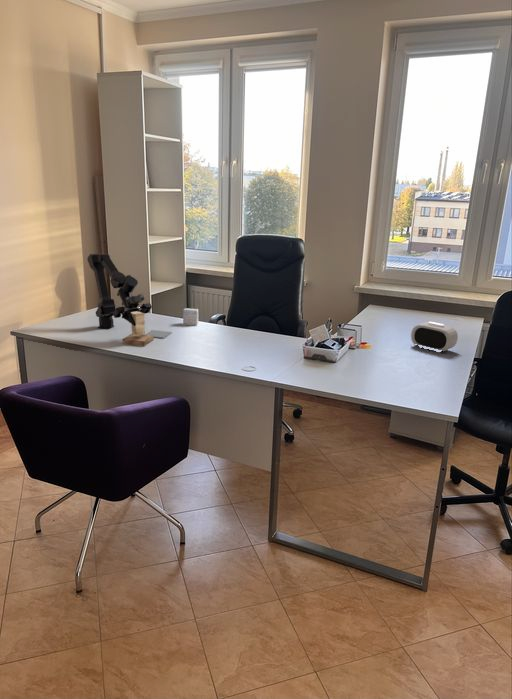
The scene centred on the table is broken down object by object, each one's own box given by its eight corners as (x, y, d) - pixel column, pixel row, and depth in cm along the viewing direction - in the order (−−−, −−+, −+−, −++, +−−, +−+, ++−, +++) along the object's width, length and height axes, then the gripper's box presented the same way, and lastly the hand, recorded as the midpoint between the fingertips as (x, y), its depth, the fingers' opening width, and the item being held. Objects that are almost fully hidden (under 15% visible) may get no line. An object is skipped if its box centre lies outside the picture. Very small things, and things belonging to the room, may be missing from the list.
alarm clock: (408, 346, 261) (412, 321, 257) (417, 342, 268) (420, 318, 264) (447, 355, 248) (452, 329, 244) (455, 351, 255) (459, 326, 251)
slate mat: (143, 336, 256) (143, 335, 256) (152, 331, 266) (152, 330, 266) (164, 338, 254) (164, 337, 254) (171, 333, 264) (171, 332, 264)
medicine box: (198, 323, 285) (198, 309, 282) (196, 325, 280) (196, 310, 278) (184, 323, 285) (184, 308, 283) (182, 324, 281) (182, 309, 278)
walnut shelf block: (123, 344, 243) (122, 339, 242) (132, 337, 253) (132, 333, 252) (144, 346, 241) (144, 341, 240) (153, 340, 251) (153, 335, 250)
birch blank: (131, 332, 245) (131, 312, 242) (139, 331, 248) (139, 311, 245) (136, 335, 242) (136, 314, 239) (144, 333, 245) (144, 313, 242)
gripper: (115, 290, 235) (127, 318, 231) (149, 286, 248) (162, 313, 244) (107, 303, 243) (119, 331, 239) (141, 299, 256) (153, 325, 251)
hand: (139, 324), depth 243 cm, fingers closed on birch blank, 4 cm apart
